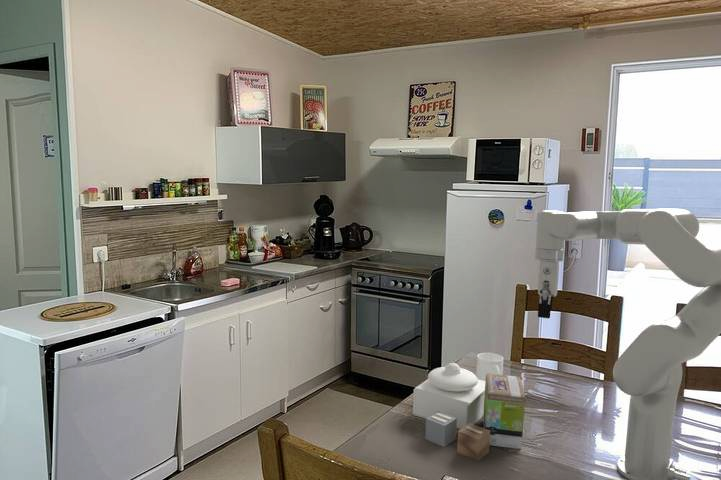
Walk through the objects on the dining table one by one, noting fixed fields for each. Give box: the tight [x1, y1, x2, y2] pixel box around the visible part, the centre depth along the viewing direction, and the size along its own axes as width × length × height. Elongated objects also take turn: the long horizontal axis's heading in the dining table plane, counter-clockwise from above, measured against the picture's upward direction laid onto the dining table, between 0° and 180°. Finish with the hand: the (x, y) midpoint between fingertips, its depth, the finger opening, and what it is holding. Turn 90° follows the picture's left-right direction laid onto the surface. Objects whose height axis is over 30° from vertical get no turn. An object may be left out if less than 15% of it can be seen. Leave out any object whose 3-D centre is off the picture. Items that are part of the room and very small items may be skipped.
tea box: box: [482, 374, 526, 450], centre depth 146 cm, size 15×10×15 cm, turn 168°
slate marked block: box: [425, 411, 457, 448], centre depth 143 cm, size 6×6×6 cm
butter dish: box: [412, 362, 486, 430], centre depth 159 cm, size 18×18×16 cm
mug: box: [475, 352, 504, 381], centre depth 177 cm, size 9×12×11 cm
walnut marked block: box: [456, 423, 491, 462], centre depth 137 cm, size 6×6×6 cm
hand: (544, 313), depth 151 cm, fingers open, 9 cm apart
